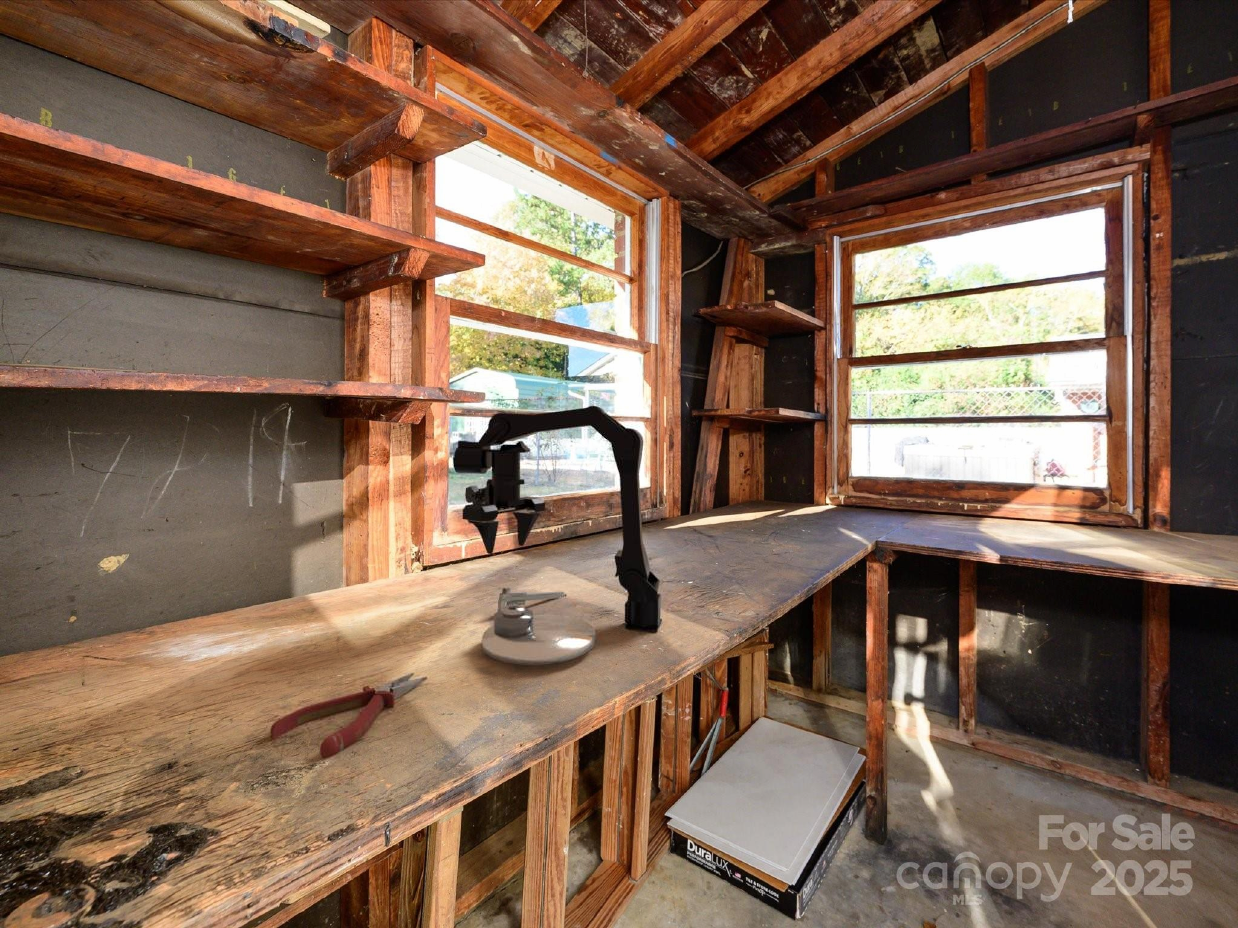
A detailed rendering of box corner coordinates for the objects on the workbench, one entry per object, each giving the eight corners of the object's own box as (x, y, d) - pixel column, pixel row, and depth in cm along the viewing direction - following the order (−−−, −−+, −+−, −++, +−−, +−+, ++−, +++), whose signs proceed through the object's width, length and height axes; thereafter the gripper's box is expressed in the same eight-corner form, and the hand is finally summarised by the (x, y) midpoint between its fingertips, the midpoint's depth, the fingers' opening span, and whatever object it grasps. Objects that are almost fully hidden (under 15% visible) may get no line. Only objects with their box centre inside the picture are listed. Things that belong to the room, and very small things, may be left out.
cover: (539, 625, 101) (539, 603, 100) (523, 639, 94) (523, 615, 94) (504, 622, 102) (504, 600, 102) (487, 635, 96) (486, 612, 95)
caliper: (501, 619, 112) (501, 589, 112) (497, 618, 113) (497, 589, 113) (567, 596, 129) (567, 570, 128) (564, 595, 129) (564, 569, 129)
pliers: (448, 690, 82) (448, 673, 82) (327, 764, 64) (327, 743, 63) (393, 676, 87) (392, 660, 86) (266, 741, 68) (265, 721, 68)
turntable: (607, 626, 104) (607, 619, 104) (575, 670, 85) (575, 662, 85) (511, 617, 109) (511, 610, 109) (460, 657, 90) (460, 648, 90)
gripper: (508, 470, 123) (508, 537, 124) (442, 475, 107) (443, 552, 108) (546, 472, 117) (546, 543, 118) (483, 478, 101) (483, 560, 102)
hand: (506, 549), depth 112 cm, fingers open, 9 cm apart
